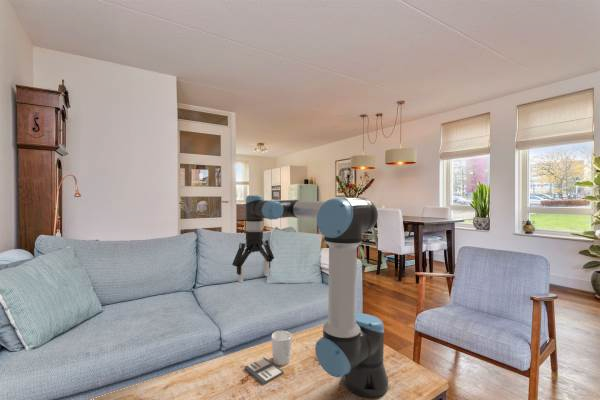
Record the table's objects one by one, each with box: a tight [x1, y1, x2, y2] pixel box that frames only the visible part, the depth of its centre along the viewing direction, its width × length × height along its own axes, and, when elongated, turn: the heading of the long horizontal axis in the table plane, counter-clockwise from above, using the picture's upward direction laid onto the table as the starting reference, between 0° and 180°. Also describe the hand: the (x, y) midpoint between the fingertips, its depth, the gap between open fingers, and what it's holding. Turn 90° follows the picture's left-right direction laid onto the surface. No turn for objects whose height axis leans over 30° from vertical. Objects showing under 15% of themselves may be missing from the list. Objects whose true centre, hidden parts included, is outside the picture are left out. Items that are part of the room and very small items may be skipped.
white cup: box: [271, 330, 293, 366], centre depth 112 cm, size 8×8×10 cm
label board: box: [244, 357, 285, 386], centre depth 105 cm, size 12×9×1 cm
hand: (254, 278), depth 126 cm, fingers open, 13 cm apart
